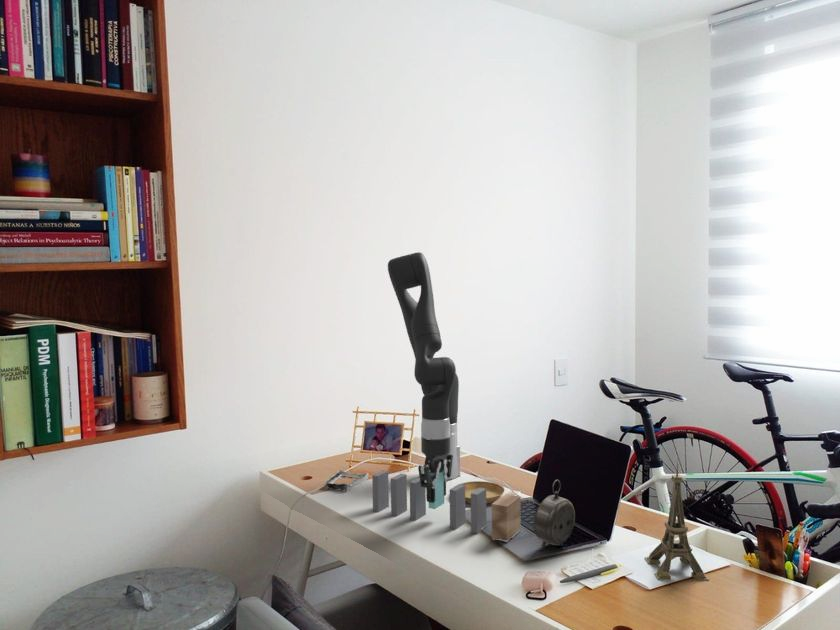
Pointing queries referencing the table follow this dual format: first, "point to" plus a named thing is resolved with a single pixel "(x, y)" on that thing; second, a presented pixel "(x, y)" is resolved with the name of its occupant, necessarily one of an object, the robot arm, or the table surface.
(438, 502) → the domino
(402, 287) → the robot arm
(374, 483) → the domino
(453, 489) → the domino
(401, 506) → the domino
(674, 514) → the eiffel tower
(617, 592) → the table surface
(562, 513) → the alarm clock
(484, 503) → the domino
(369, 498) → the table surface
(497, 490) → the plant saucer
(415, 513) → the domino
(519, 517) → the end block
